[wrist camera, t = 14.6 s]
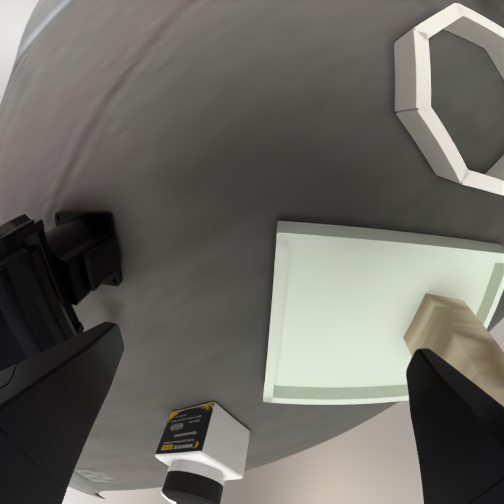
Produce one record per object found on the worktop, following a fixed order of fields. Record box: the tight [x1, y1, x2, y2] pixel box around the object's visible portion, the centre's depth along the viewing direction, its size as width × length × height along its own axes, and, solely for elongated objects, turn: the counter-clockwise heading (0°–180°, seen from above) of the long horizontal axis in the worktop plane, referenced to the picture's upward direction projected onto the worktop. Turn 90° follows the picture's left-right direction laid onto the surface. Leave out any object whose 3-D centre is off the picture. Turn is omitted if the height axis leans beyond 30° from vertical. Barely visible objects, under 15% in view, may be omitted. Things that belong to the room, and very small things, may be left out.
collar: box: [394, 3, 504, 196], centre depth 12 cm, size 13×13×4 cm
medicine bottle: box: [155, 402, 250, 504], centre depth 24 cm, size 7×7×12 cm
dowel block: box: [403, 293, 504, 406], centre depth 15 cm, size 4×4×12 cm
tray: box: [263, 221, 504, 405], centre depth 21 cm, size 20×16×2 cm
